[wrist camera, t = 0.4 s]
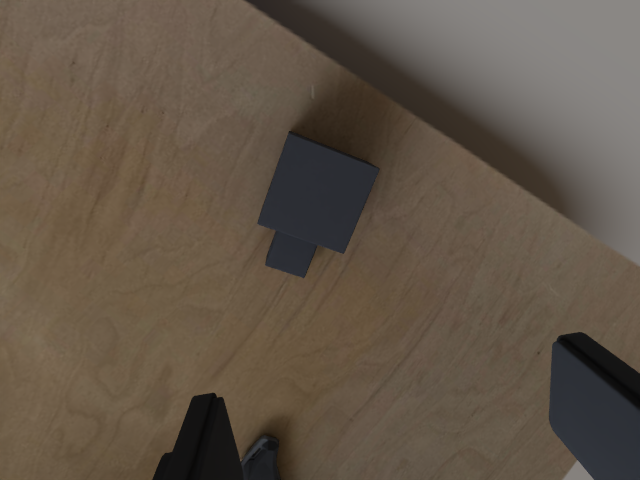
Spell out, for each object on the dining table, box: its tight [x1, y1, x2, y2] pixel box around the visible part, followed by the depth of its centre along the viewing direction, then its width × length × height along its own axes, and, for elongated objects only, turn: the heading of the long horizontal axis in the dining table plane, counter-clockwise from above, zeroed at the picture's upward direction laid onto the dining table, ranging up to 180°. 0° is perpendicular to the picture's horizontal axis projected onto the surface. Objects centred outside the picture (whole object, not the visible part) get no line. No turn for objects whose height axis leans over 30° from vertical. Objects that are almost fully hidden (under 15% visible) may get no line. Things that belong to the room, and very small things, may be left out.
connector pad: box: [258, 131, 380, 278], centre depth 27 cm, size 6×9×4 cm, turn 159°
